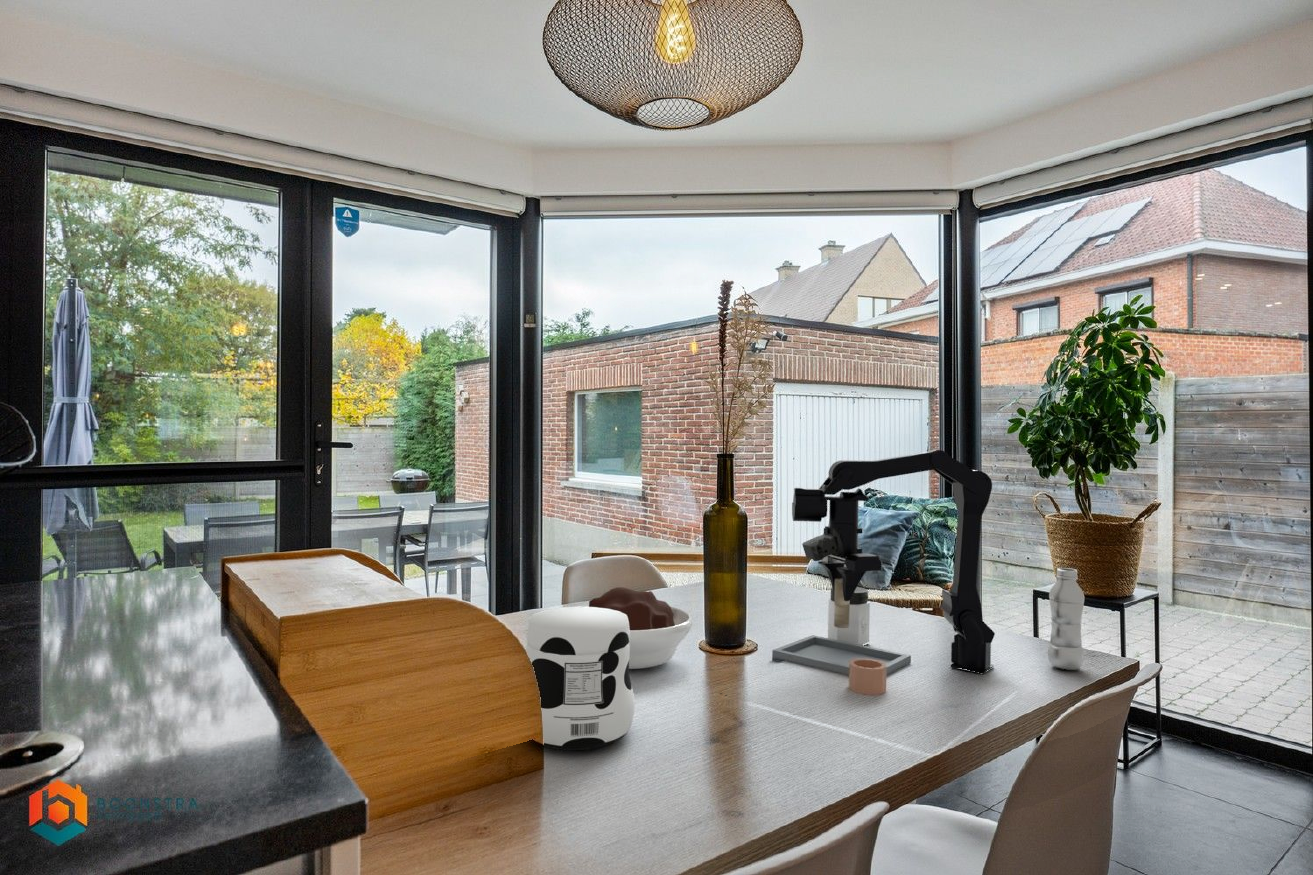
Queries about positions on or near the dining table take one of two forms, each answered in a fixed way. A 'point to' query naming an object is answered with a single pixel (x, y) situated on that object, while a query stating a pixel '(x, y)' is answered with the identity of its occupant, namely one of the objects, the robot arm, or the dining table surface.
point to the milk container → (582, 675)
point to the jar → (852, 619)
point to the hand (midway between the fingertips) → (842, 599)
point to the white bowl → (647, 625)
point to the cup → (867, 676)
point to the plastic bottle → (1066, 621)
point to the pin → (840, 606)
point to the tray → (836, 654)
